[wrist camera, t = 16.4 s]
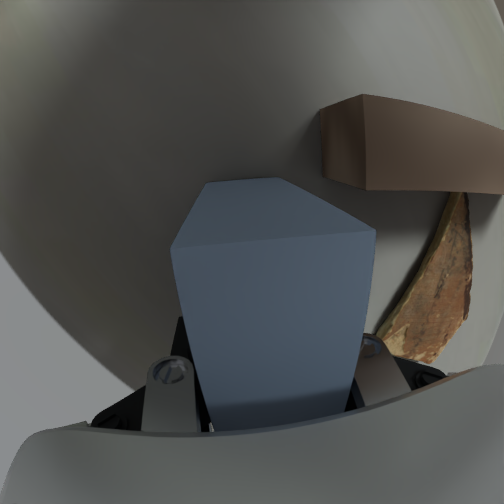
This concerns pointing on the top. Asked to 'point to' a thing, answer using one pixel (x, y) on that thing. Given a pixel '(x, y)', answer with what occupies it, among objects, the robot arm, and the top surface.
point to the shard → (435, 290)
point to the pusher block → (272, 301)
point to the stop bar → (409, 147)
